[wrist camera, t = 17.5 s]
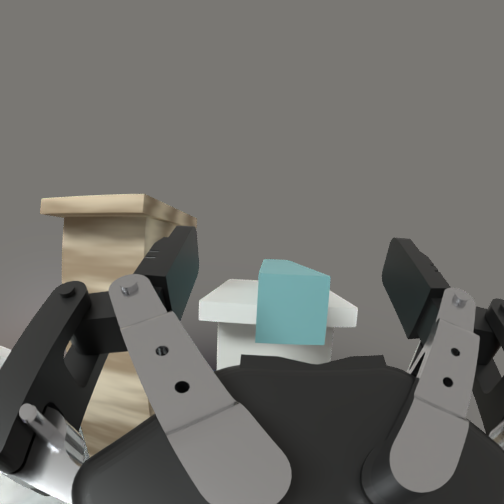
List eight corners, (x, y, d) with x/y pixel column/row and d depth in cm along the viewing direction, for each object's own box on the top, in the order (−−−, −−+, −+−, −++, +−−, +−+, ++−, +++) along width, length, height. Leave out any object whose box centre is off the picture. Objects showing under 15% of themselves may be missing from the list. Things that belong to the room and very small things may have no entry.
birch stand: (160, 497, 22) (144, 193, 22) (73, 467, 22) (41, 198, 22) (194, 423, 40) (197, 218, 39) (127, 409, 40) (121, 217, 40)
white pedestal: (314, 511, 21) (358, 307, 21) (204, 506, 21) (199, 300, 21) (301, 430, 39) (318, 283, 39) (225, 427, 39) (229, 278, 39)
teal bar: (324, 344, 12) (330, 276, 12) (255, 342, 12) (258, 273, 12) (286, 284, 36) (288, 260, 36) (262, 283, 36) (264, 259, 36)
